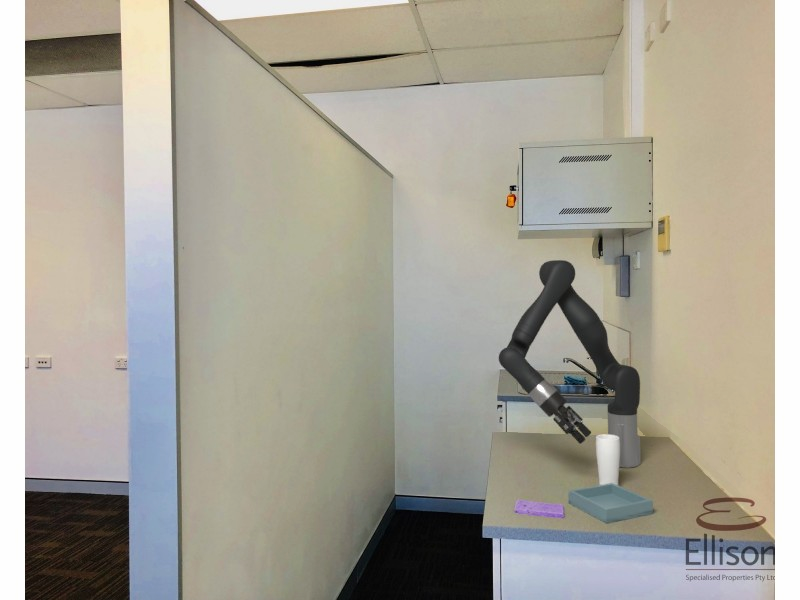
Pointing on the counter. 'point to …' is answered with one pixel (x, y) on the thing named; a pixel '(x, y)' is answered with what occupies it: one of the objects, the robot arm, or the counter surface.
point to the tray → (610, 502)
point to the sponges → (539, 509)
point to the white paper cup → (608, 458)
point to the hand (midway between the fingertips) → (586, 438)
